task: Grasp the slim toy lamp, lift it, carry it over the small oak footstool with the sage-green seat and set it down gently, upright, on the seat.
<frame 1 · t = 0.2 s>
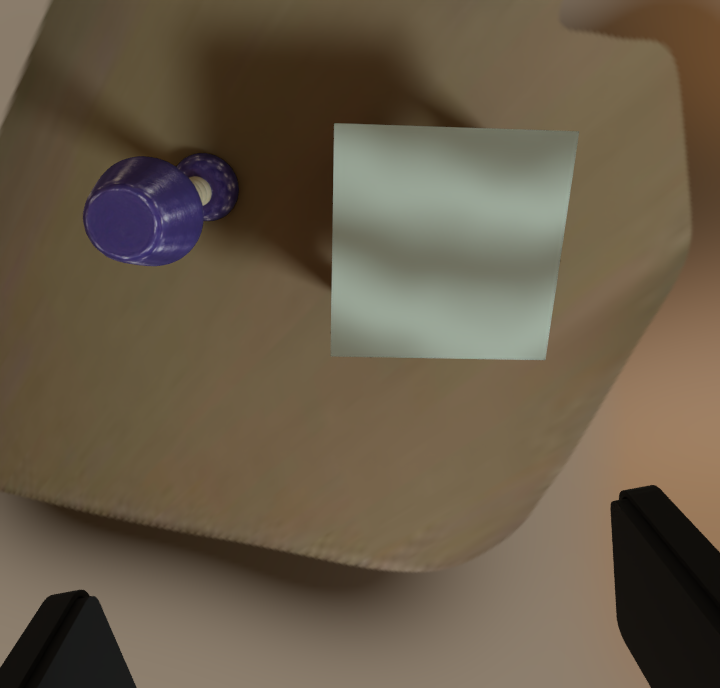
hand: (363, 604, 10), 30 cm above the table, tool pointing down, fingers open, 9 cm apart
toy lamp: (211, 189, 37), on the table
footstool: (423, 226, 38), on the table
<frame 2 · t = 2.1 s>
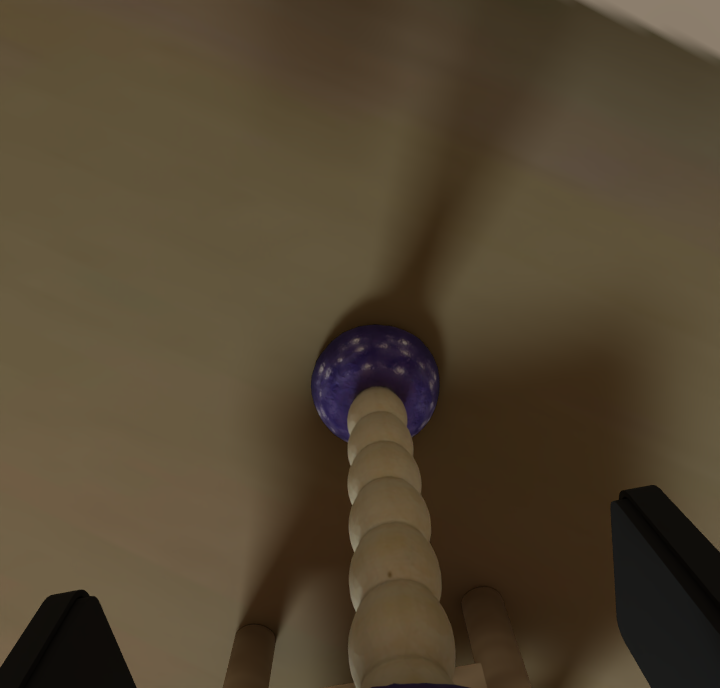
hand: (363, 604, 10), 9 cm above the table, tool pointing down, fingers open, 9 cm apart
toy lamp: (373, 391, 19), on the table
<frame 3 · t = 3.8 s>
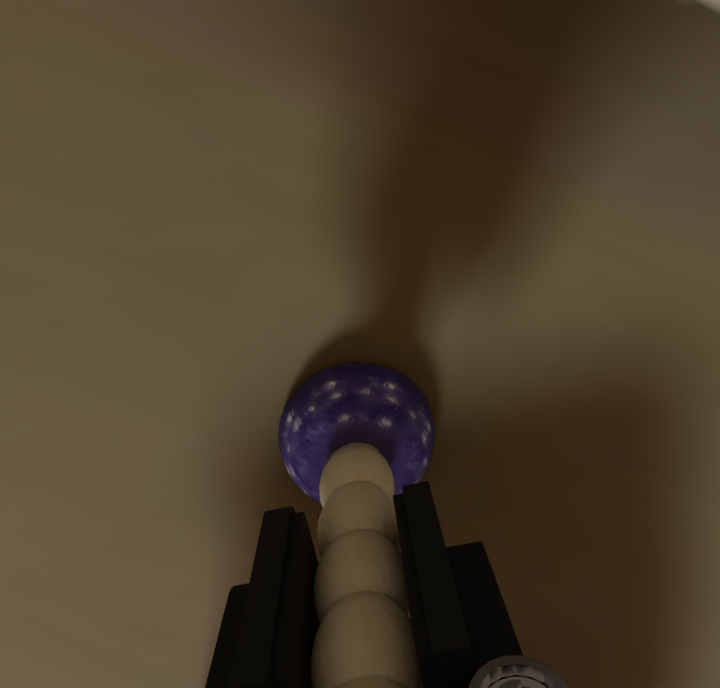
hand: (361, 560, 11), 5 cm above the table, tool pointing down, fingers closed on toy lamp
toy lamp: (354, 439, 16), on the table, touching gripper
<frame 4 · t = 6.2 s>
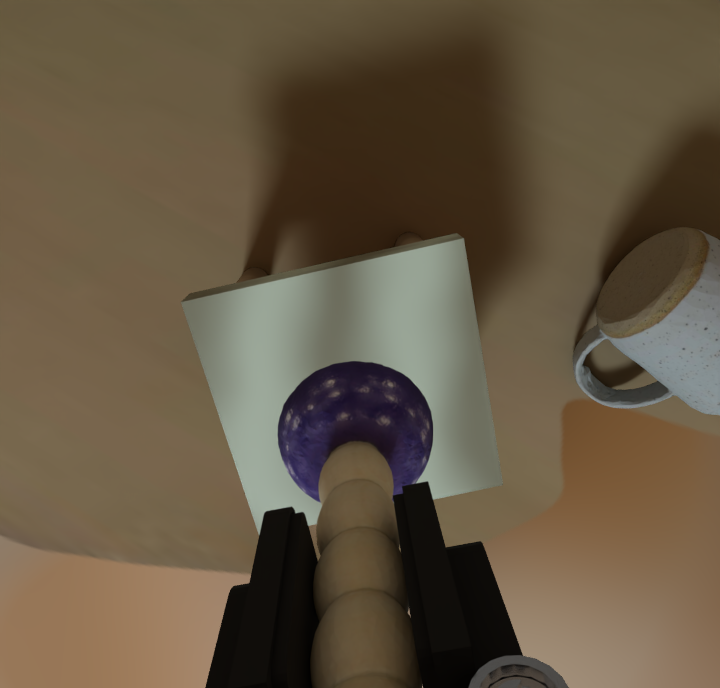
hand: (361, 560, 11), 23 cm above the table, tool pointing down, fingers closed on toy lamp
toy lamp: (353, 438, 16), point 18 cm above the table, touching gripper
ceramic mug: (644, 320, 35), on the table
footstool: (349, 336, 34), on the table
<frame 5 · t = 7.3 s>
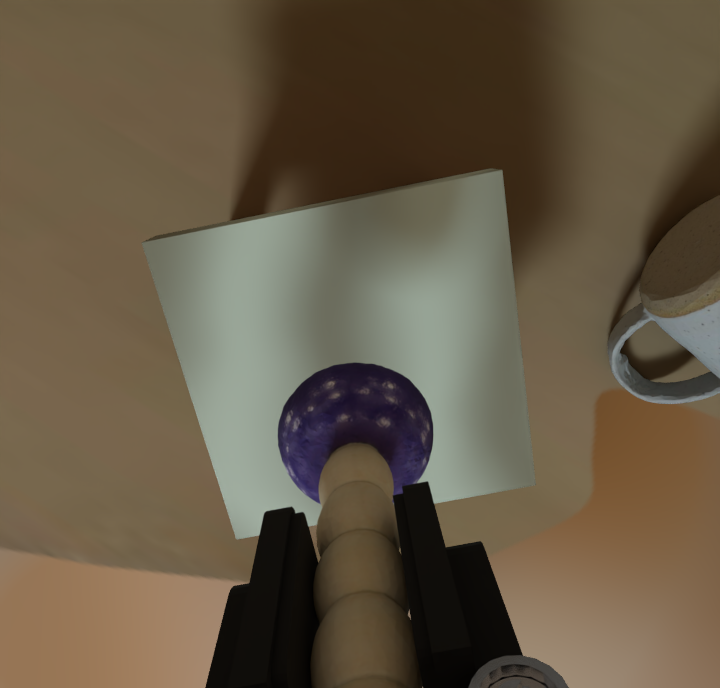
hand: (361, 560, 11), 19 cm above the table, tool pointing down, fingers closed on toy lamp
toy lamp: (353, 439, 16), point 14 cm above the table, touching gripper
ceramic mug: (691, 302, 30), on the table
footstool: (351, 307, 29), on the table
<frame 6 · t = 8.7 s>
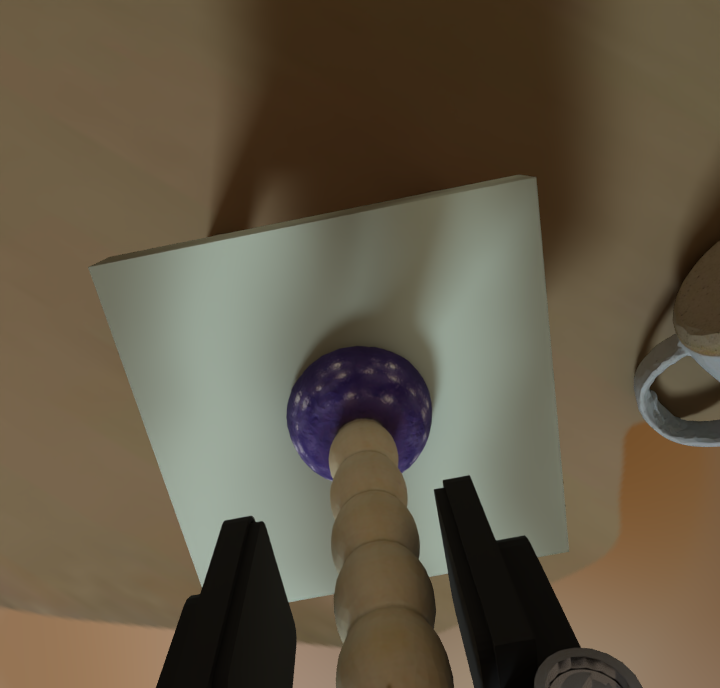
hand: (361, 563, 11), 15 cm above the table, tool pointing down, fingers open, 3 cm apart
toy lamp: (357, 419, 17), point 9 cm above the table, touching footstool
footstool: (349, 331, 25), on the table
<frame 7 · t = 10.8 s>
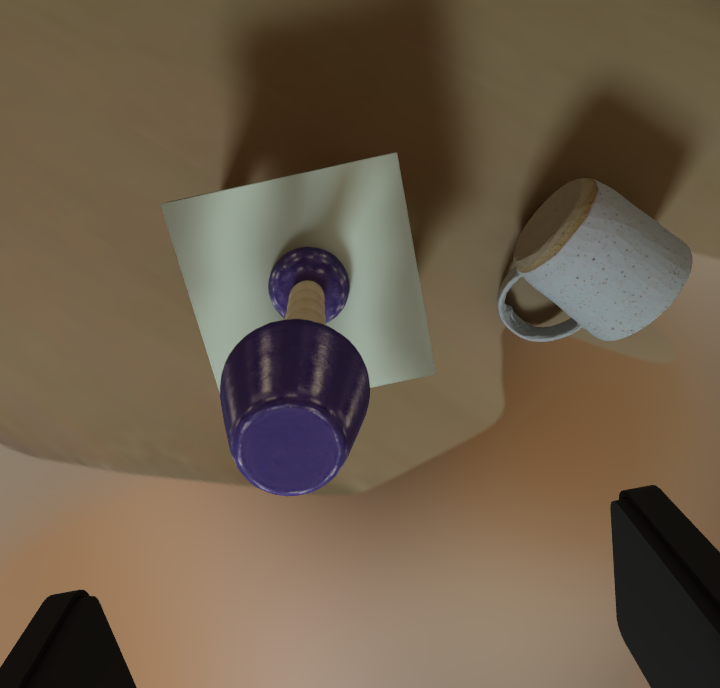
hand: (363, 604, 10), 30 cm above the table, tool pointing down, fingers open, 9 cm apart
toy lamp: (308, 292, 30), point 9 cm above the table, touching footstool
ceramic mug: (560, 265, 40), on the table
footstool: (312, 262, 39), on the table
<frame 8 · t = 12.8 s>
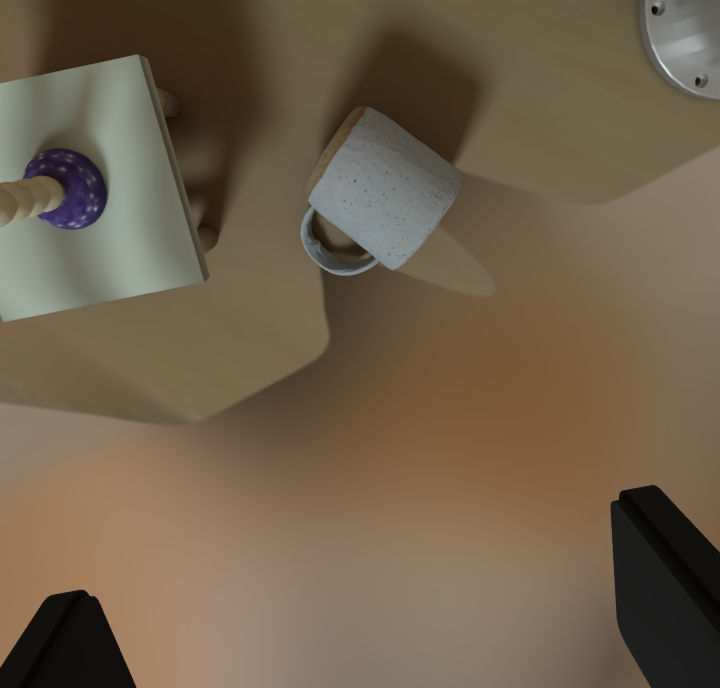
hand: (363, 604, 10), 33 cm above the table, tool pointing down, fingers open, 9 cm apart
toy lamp: (69, 195, 31), point 9 cm above the table, touching footstool
ceramic mug: (368, 202, 41), on the table
footstool: (125, 186, 40), on the table
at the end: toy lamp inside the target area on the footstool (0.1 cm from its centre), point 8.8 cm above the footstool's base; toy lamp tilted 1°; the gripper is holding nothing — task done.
